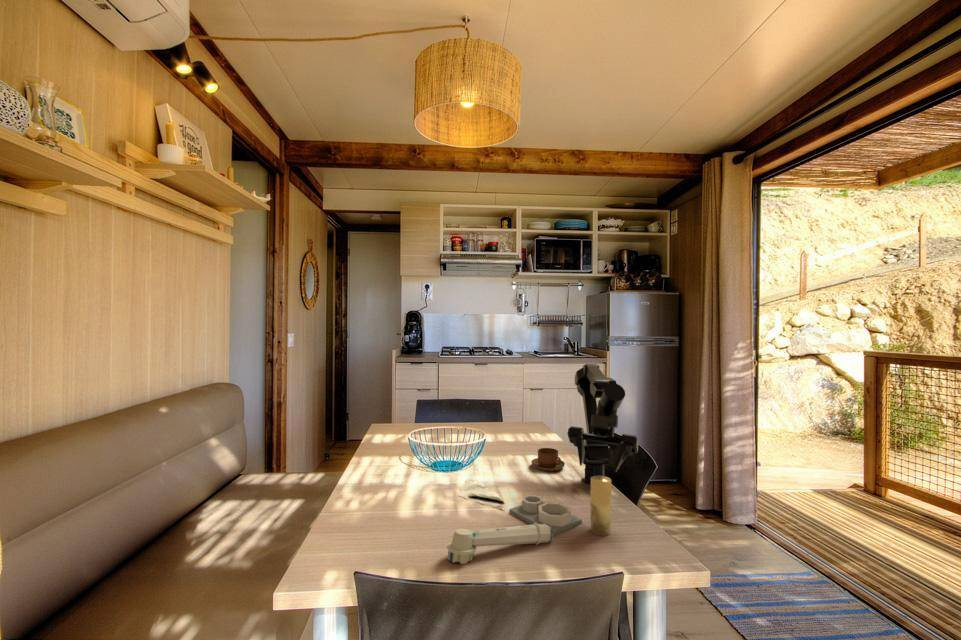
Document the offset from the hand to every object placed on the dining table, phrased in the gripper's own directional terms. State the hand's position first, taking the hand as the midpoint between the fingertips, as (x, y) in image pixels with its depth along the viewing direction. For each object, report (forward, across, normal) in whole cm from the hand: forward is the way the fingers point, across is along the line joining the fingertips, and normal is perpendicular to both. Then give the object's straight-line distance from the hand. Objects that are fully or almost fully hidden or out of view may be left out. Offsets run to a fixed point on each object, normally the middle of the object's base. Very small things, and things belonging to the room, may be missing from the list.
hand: (597, 468), depth 115 cm
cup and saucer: (-11, -23, +34) cm, 43 cm away
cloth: (+12, -35, +10) cm, 38 cm away
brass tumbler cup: (+15, +3, +3) cm, 15 cm away
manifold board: (+15, -12, +4) cm, 19 cm away
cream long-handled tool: (+28, -16, -11) cm, 35 cm away
